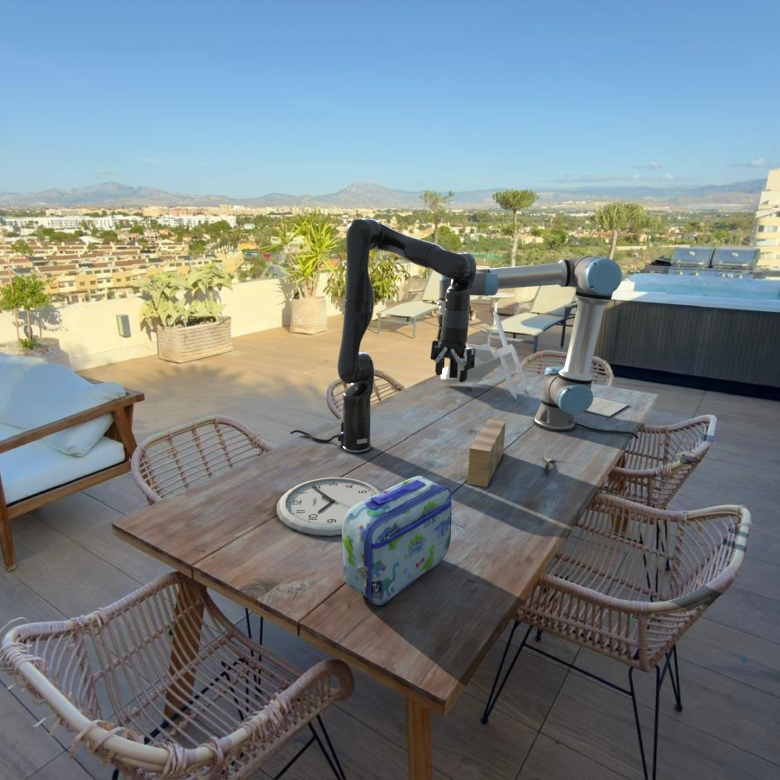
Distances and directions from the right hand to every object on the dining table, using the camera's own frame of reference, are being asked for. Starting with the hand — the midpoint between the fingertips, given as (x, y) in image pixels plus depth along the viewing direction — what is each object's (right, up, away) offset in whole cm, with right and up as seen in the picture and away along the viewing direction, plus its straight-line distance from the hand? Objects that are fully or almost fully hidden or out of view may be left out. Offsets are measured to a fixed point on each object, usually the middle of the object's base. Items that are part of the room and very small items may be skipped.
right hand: (446, 372), depth 185 cm
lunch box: (-18, -47, -71) cm, 87 cm away
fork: (+31, -31, -16) cm, 46 cm away
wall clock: (-36, -38, -42) cm, 67 cm away
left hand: (-2, -3, -30) cm, 30 cm away
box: (+11, -31, -18) cm, 37 cm away
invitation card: (+71, -14, +41) cm, 84 cm away
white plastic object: (+22, -7, +58) cm, 63 cm away
